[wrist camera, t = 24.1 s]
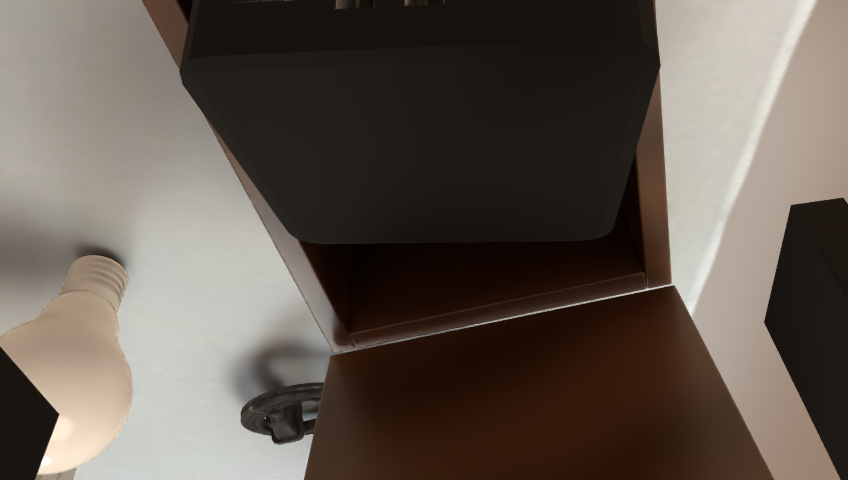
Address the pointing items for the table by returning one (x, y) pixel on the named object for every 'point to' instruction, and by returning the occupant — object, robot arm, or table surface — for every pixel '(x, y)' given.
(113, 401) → the lightbulb
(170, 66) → the table surface
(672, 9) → the table surface
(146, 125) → the table surface
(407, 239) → the electronic device
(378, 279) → the chest
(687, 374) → the lid
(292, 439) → the milk frother
